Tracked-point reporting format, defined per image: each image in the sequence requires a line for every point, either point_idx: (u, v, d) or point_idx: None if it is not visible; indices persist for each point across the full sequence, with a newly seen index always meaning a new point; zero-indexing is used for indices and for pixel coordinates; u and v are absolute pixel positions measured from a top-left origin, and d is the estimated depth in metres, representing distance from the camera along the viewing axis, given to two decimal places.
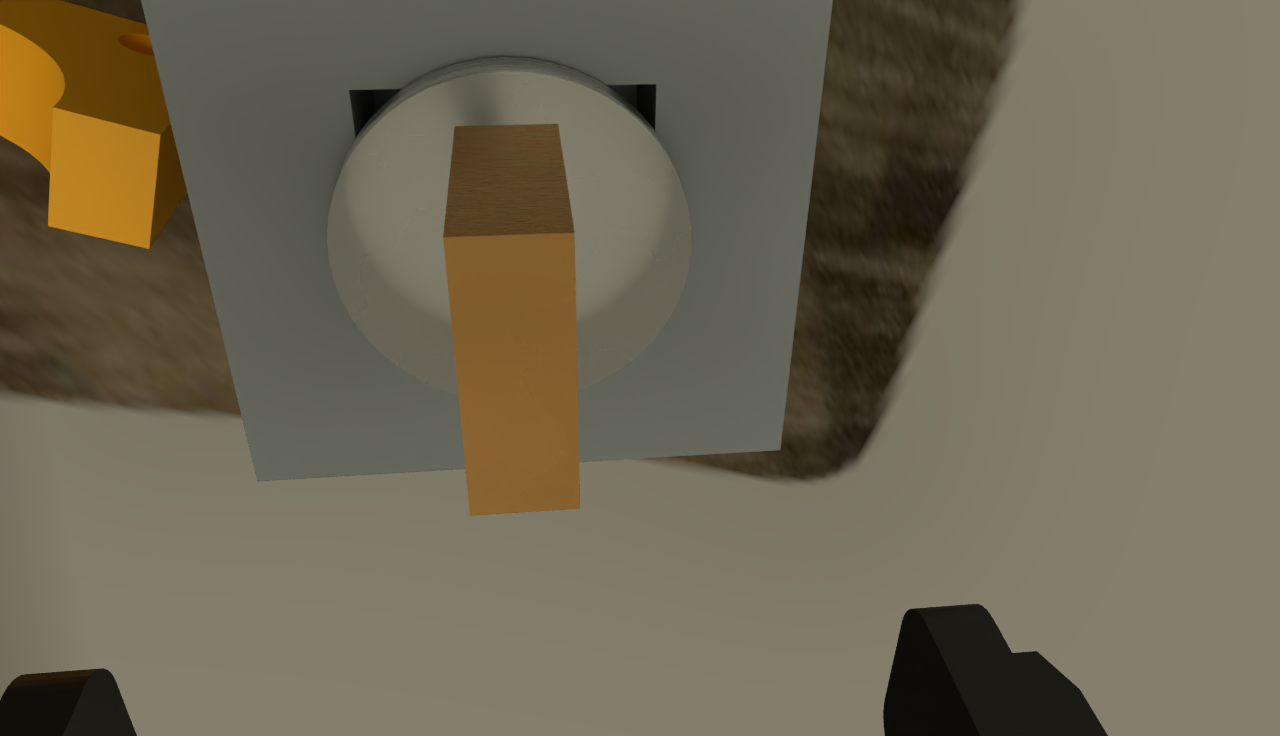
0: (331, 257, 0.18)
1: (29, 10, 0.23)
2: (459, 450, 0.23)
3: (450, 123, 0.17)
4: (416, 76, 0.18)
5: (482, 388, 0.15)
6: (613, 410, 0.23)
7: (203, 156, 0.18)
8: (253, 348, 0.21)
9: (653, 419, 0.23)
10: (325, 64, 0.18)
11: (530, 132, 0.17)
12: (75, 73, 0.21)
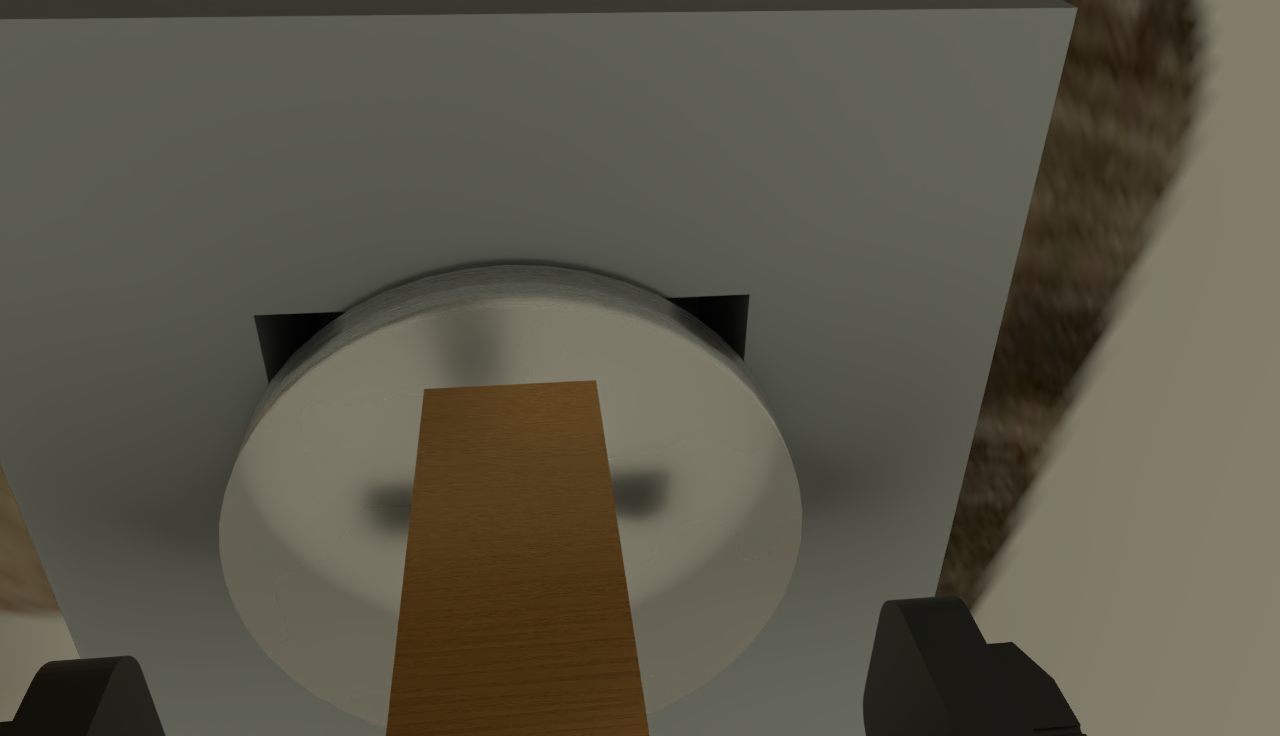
0: (228, 577, 0.12)
1: None
2: None
3: (417, 386, 0.10)
4: (363, 293, 0.11)
5: None
6: (664, 716, 0.16)
7: (22, 415, 0.11)
8: None
9: (721, 723, 0.16)
10: (212, 279, 0.11)
11: (550, 404, 0.10)
12: None
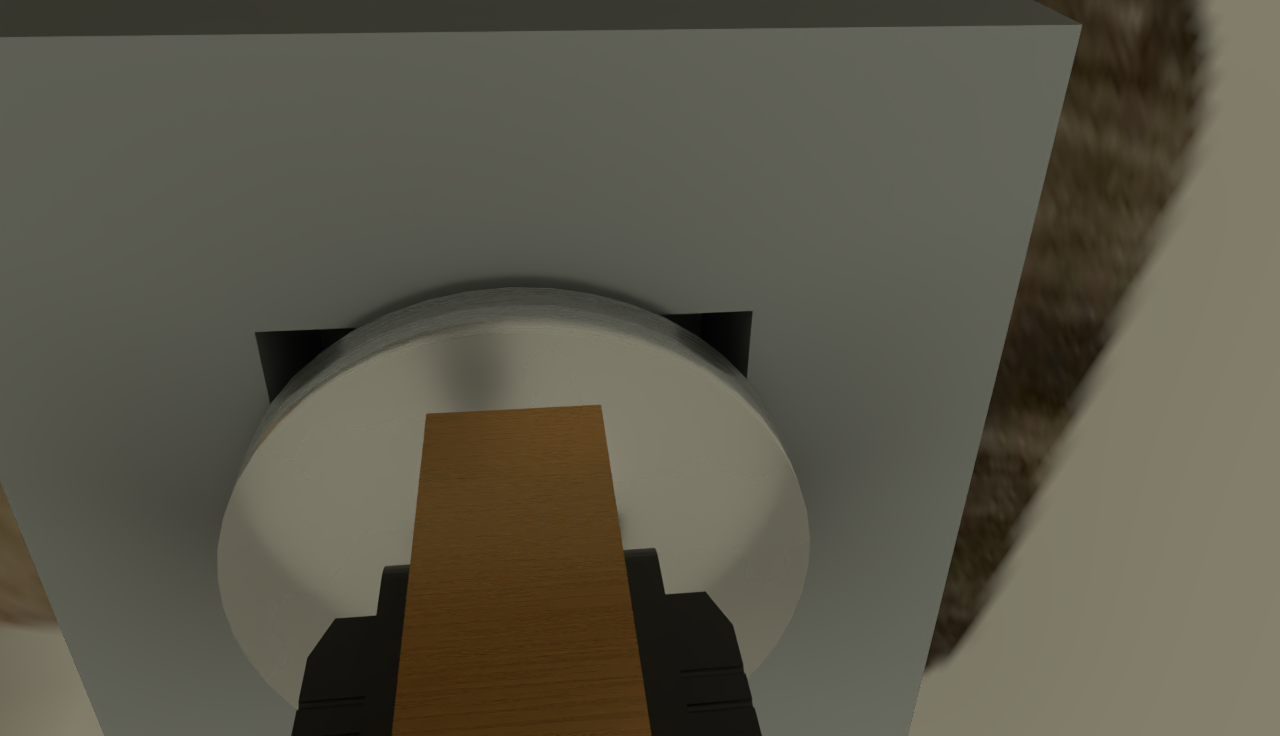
0: (226, 603, 0.11)
1: None
2: None
3: (419, 411, 0.10)
4: (365, 310, 0.11)
5: None
6: None
7: (21, 432, 0.11)
8: (126, 681, 0.14)
9: None
10: (213, 296, 0.11)
11: (554, 429, 0.10)
12: None
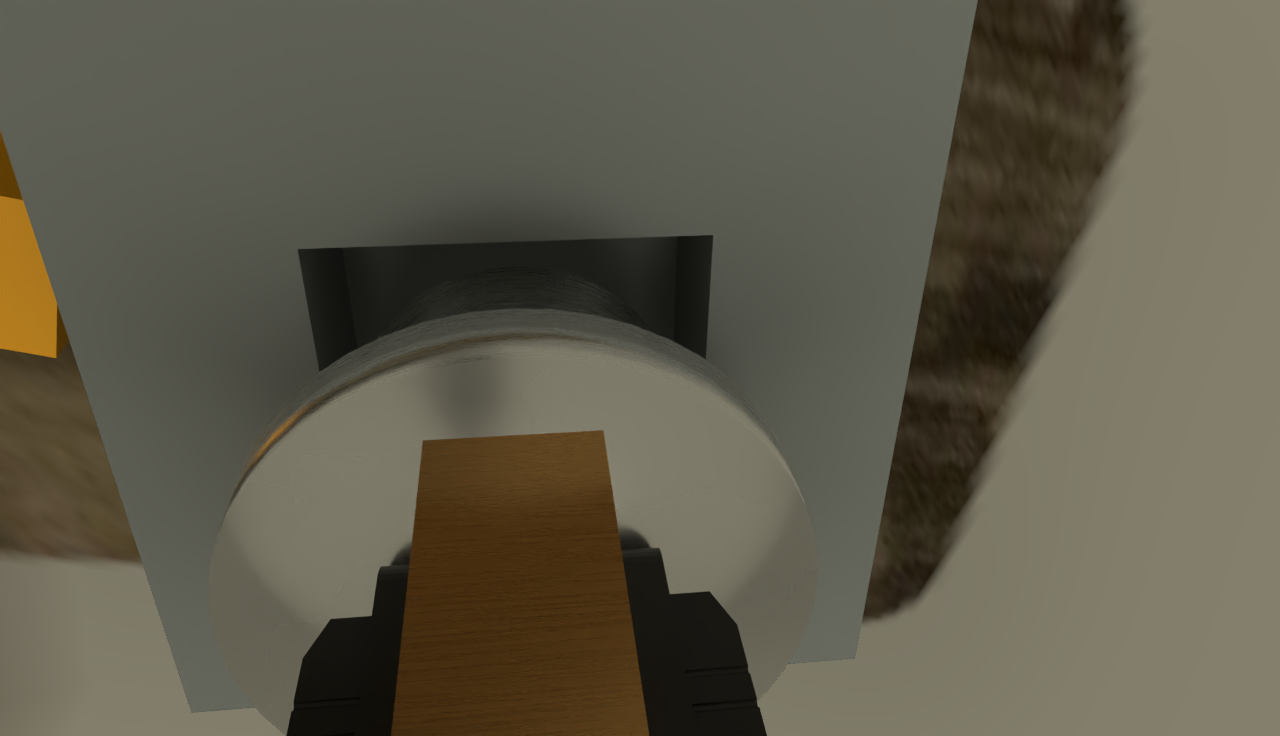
0: (218, 633, 0.11)
1: None
2: None
3: (415, 437, 0.10)
4: (389, 230, 0.13)
5: None
6: None
7: (101, 334, 0.14)
8: (179, 563, 0.16)
9: None
10: (264, 217, 0.13)
11: (555, 457, 0.10)
12: None
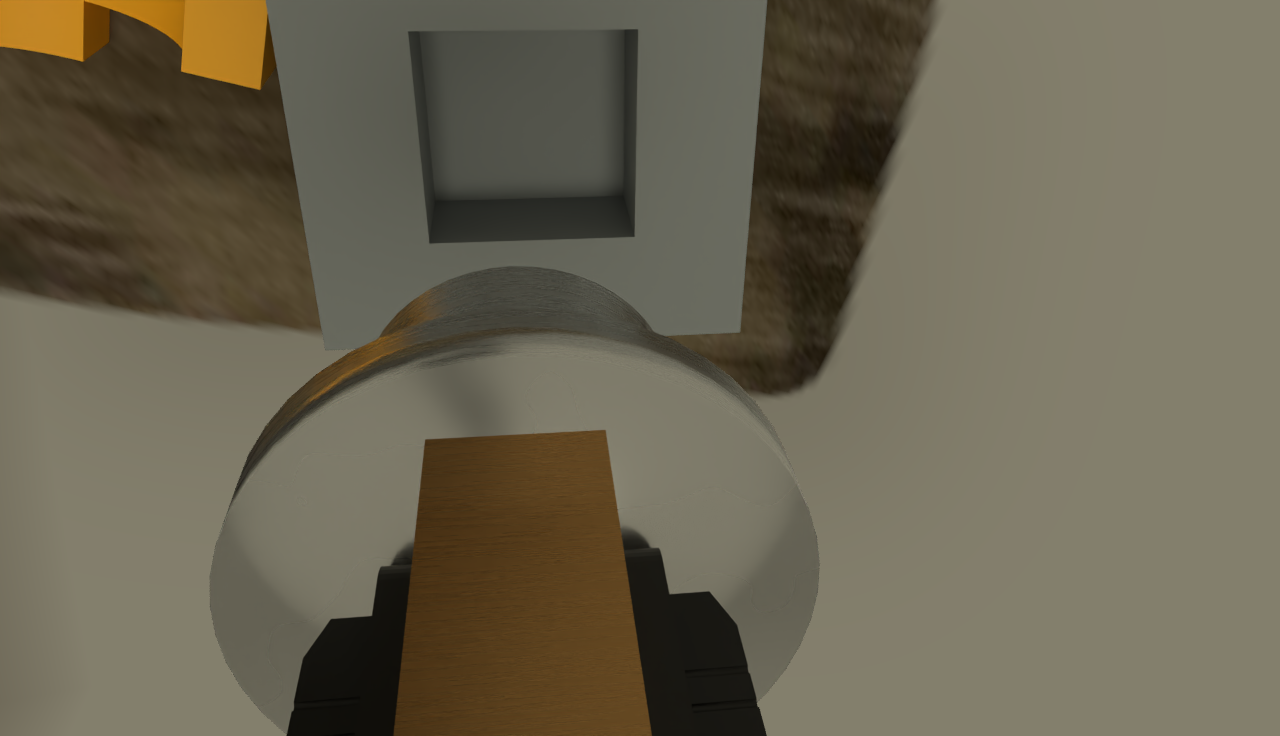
0: (219, 631, 0.11)
1: None
2: None
3: (417, 436, 0.10)
4: (458, 21, 0.24)
5: None
6: None
7: (297, 81, 0.25)
8: (327, 237, 0.27)
9: (638, 303, 0.29)
10: (391, 11, 0.24)
11: (557, 456, 0.10)
12: None
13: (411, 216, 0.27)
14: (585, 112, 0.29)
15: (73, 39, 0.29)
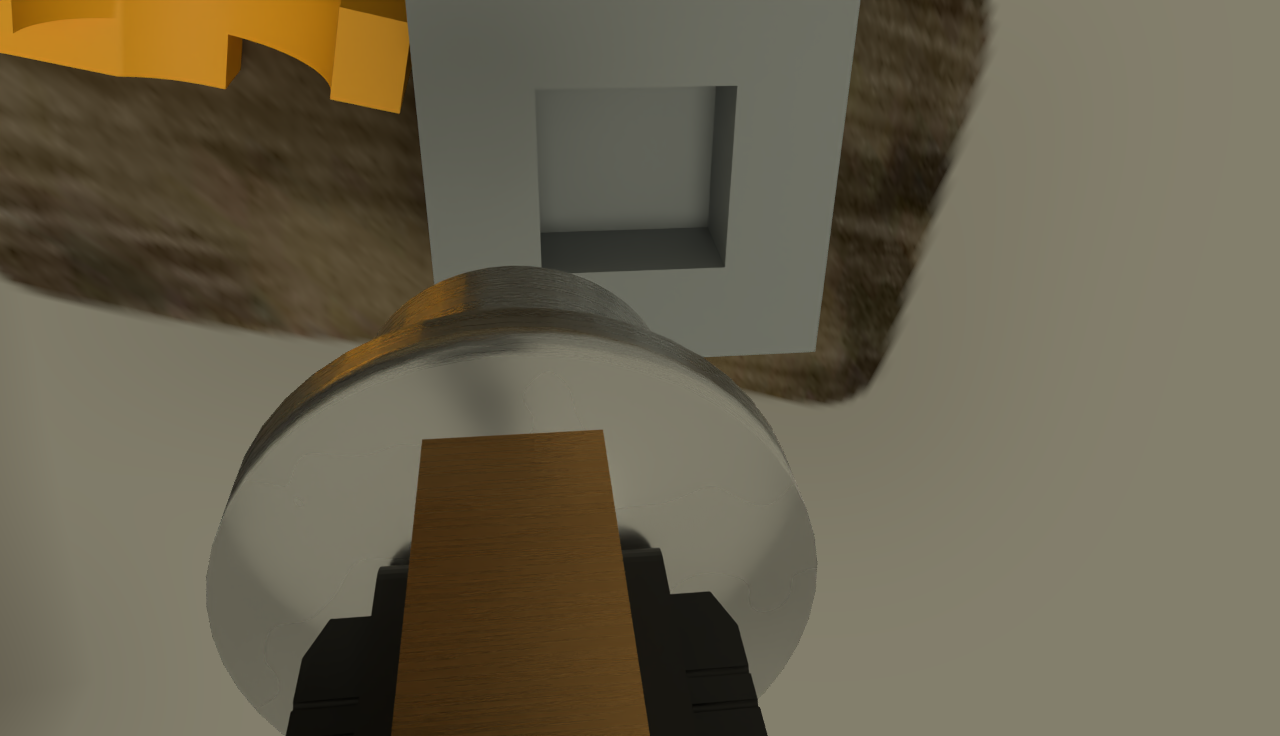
0: (216, 632, 0.11)
1: None
2: None
3: (414, 436, 0.10)
4: (579, 80, 0.27)
5: None
6: (697, 319, 0.32)
7: (435, 133, 0.28)
8: (451, 269, 0.30)
9: (725, 326, 0.32)
10: (521, 72, 0.27)
11: (555, 456, 0.10)
12: None
13: (527, 250, 0.30)
14: (677, 153, 0.32)
15: (217, 69, 0.32)
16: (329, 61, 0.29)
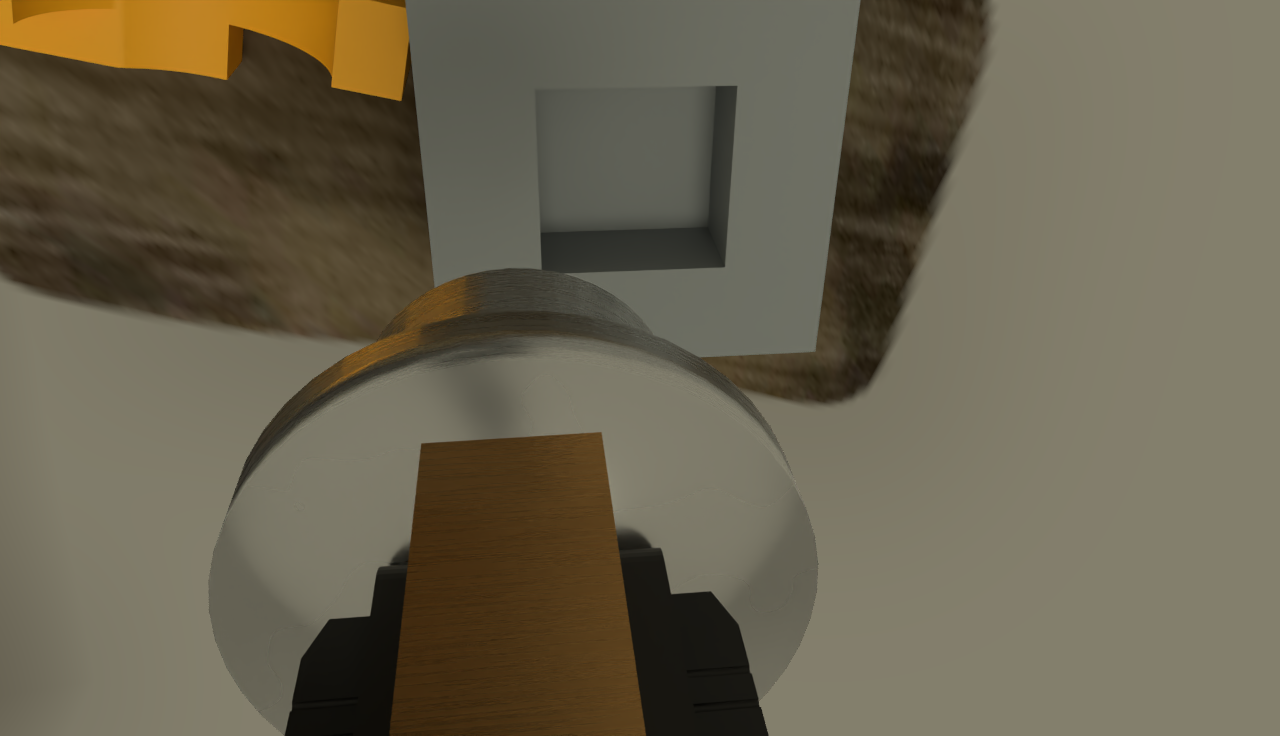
0: (219, 636, 0.11)
1: None
2: None
3: (413, 440, 0.10)
4: (579, 80, 0.27)
5: None
6: (697, 319, 0.32)
7: (435, 133, 0.28)
8: (452, 269, 0.30)
9: (725, 326, 0.32)
10: (521, 72, 0.27)
11: (553, 459, 0.10)
12: None
13: (527, 250, 0.30)
14: (677, 153, 0.32)
15: (218, 60, 0.31)
16: (330, 49, 0.29)
